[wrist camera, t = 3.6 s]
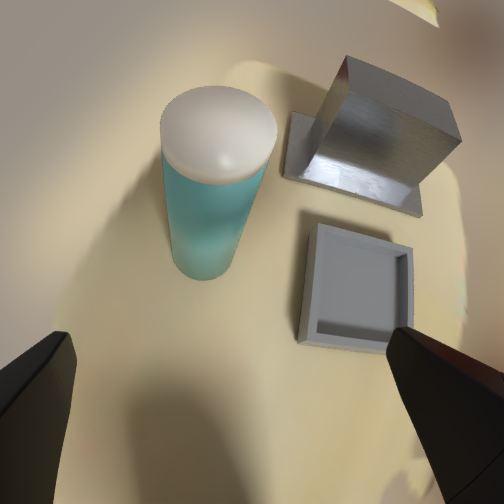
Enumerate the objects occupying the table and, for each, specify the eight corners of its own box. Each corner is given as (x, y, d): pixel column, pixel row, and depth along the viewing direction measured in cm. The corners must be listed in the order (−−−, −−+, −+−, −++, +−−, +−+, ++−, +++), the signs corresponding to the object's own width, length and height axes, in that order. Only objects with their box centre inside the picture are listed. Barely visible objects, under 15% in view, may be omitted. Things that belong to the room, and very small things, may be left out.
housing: (419, 218, 28) (483, 164, 19) (283, 177, 27) (321, 94, 18) (410, 156, 31) (459, 100, 23) (291, 115, 30) (322, 38, 21)
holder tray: (397, 355, 23) (412, 353, 21) (297, 343, 22) (306, 340, 20) (399, 256, 26) (412, 248, 24) (309, 233, 25) (318, 222, 23)
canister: (227, 286, 23) (269, 181, 11) (165, 272, 22) (142, 155, 10) (238, 230, 24) (282, 99, 12) (180, 218, 24) (180, 78, 12)
